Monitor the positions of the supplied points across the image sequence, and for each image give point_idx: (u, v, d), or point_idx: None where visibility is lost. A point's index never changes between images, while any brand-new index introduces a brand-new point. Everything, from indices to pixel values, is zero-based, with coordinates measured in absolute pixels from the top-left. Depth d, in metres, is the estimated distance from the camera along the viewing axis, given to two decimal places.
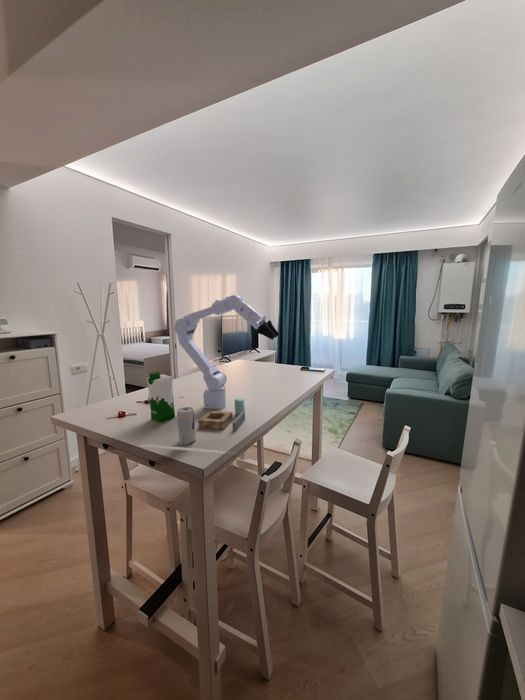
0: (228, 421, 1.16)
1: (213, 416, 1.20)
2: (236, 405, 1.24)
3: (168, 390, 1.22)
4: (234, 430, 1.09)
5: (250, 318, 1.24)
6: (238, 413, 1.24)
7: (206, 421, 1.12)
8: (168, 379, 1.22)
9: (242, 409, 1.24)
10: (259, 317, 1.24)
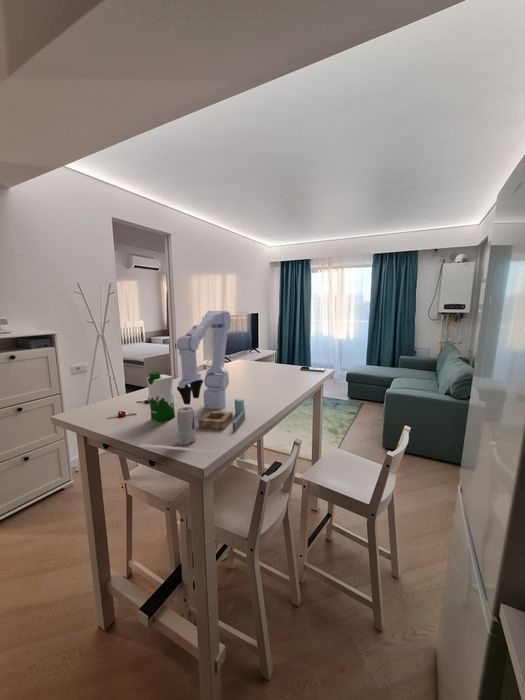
0: (228, 421, 1.16)
1: (213, 416, 1.20)
2: (236, 405, 1.24)
3: (168, 390, 1.22)
4: (234, 430, 1.09)
5: (185, 370, 1.13)
6: (238, 413, 1.24)
7: (206, 421, 1.12)
8: (168, 379, 1.22)
9: (242, 409, 1.24)
10: (192, 376, 1.14)
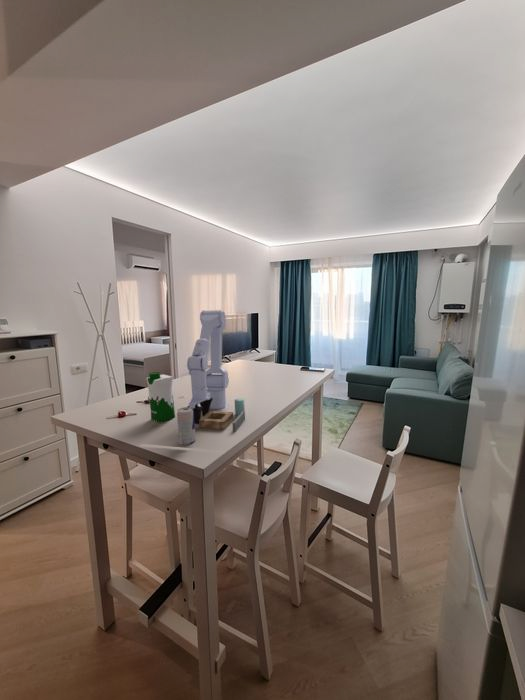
0: (229, 421, 1.16)
1: (214, 416, 1.20)
2: (236, 405, 1.24)
3: (168, 390, 1.22)
4: (234, 430, 1.09)
5: (195, 390, 1.14)
6: (238, 413, 1.24)
7: (207, 421, 1.12)
8: (168, 379, 1.22)
9: (242, 409, 1.24)
10: (202, 396, 1.15)
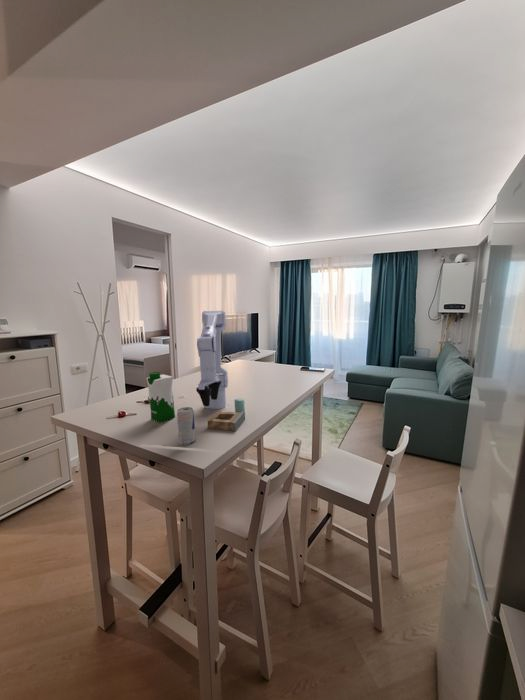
0: None
1: (222, 417, 1.19)
2: (236, 405, 1.24)
3: (168, 390, 1.22)
4: (234, 430, 1.09)
5: (204, 371, 1.12)
6: None
7: (215, 422, 1.11)
8: (168, 379, 1.22)
9: (242, 409, 1.24)
10: (212, 378, 1.12)
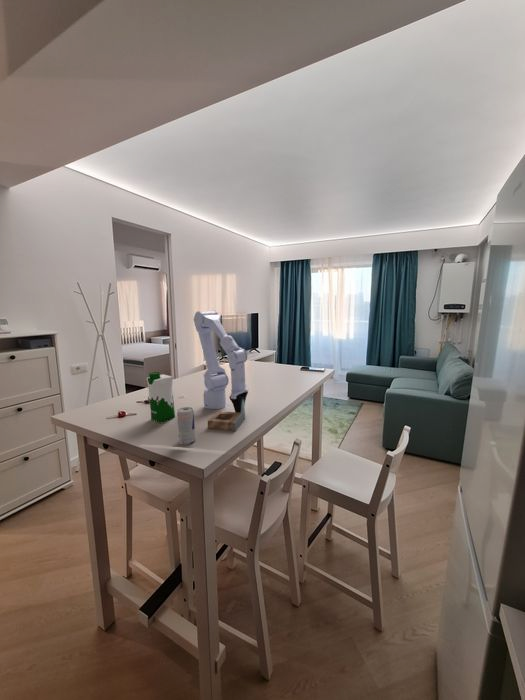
0: None
1: (222, 417, 1.19)
2: None
3: (168, 390, 1.22)
4: (234, 430, 1.09)
5: (235, 382, 1.21)
6: None
7: (215, 422, 1.11)
8: (168, 379, 1.22)
9: (242, 409, 1.24)
10: (242, 388, 1.22)
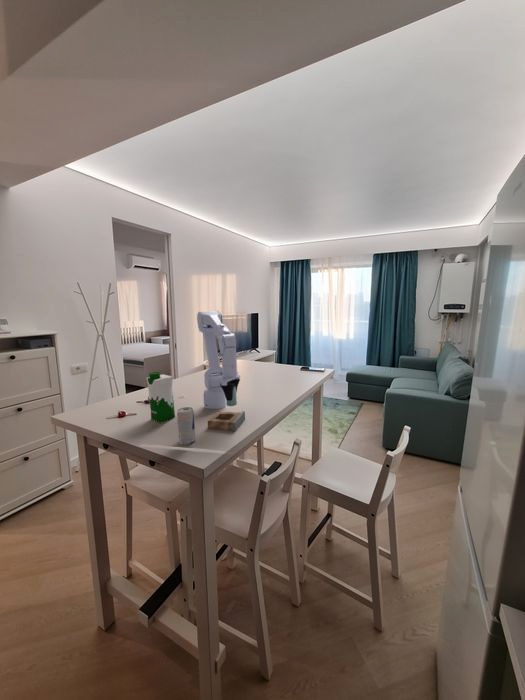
0: None
1: (222, 417, 1.19)
2: None
3: (168, 390, 1.22)
4: (234, 430, 1.09)
5: (226, 368, 1.15)
6: (229, 401, 1.17)
7: (215, 422, 1.11)
8: (168, 379, 1.22)
9: (234, 397, 1.18)
10: (233, 374, 1.16)
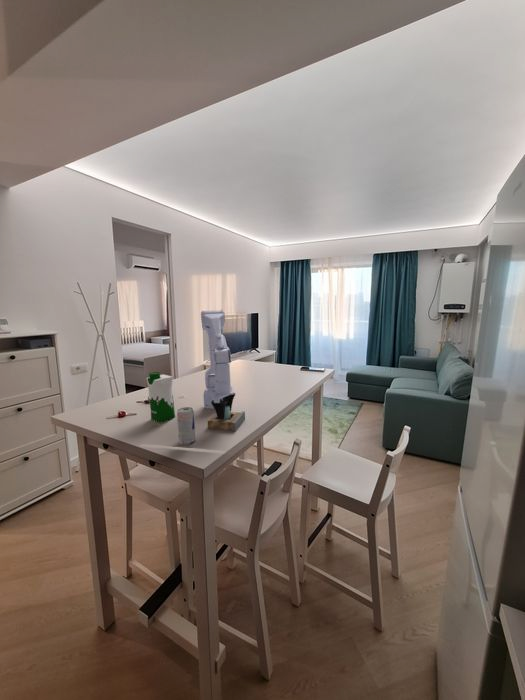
0: None
1: None
2: None
3: (168, 390, 1.22)
4: (234, 430, 1.09)
5: (219, 384, 1.11)
6: None
7: (215, 422, 1.11)
8: (168, 379, 1.22)
9: (227, 418, 1.14)
10: (226, 391, 1.12)
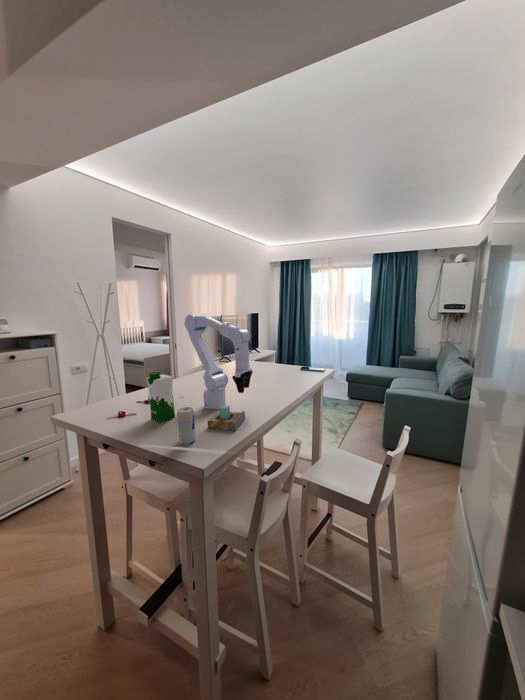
0: None
1: None
2: (221, 413, 1.14)
3: (168, 390, 1.22)
4: (234, 430, 1.09)
5: (239, 361, 1.23)
6: None
7: (215, 422, 1.11)
8: (168, 379, 1.22)
9: (227, 418, 1.14)
10: (246, 367, 1.23)
